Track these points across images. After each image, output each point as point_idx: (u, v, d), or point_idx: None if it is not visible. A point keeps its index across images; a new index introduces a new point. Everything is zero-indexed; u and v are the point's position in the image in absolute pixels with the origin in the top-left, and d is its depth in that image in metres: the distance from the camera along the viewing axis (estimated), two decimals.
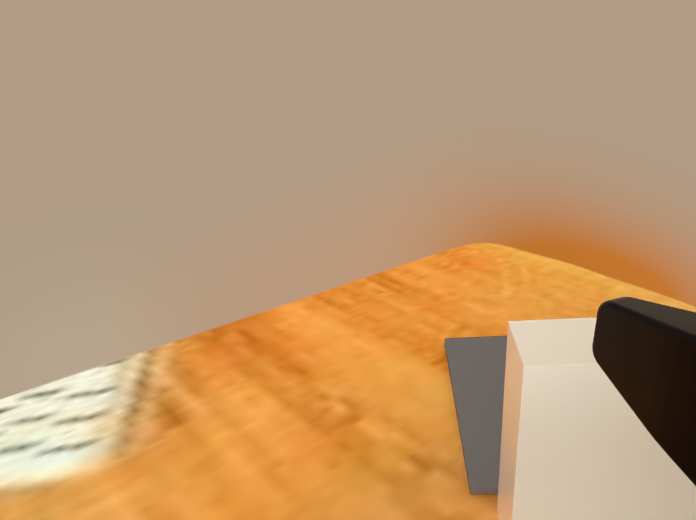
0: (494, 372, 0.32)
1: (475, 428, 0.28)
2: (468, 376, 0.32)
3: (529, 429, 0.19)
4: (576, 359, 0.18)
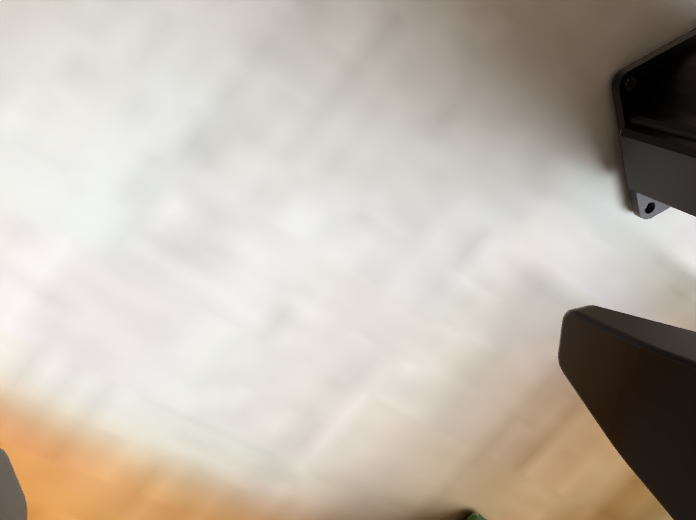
0: None
1: None
2: None
3: None
4: None
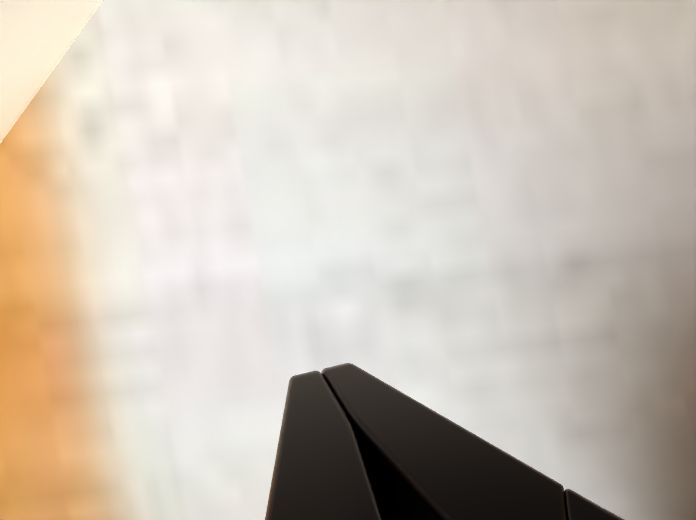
0: None
1: None
2: None
3: None
4: None
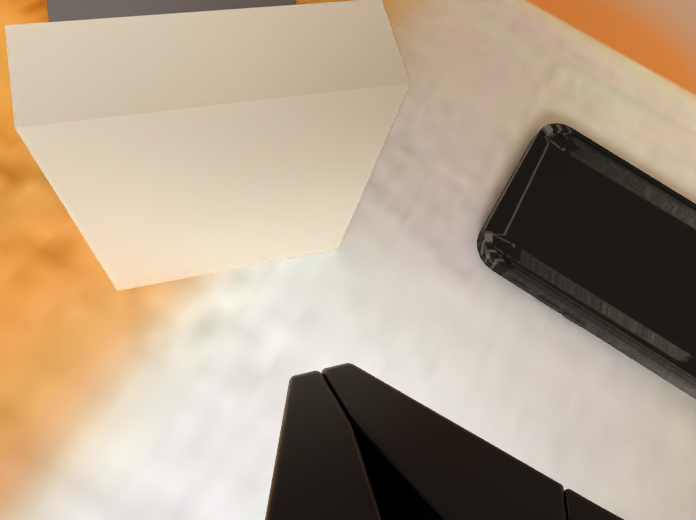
0: None
1: None
2: None
3: (73, 192, 0.13)
4: (108, 108, 0.11)
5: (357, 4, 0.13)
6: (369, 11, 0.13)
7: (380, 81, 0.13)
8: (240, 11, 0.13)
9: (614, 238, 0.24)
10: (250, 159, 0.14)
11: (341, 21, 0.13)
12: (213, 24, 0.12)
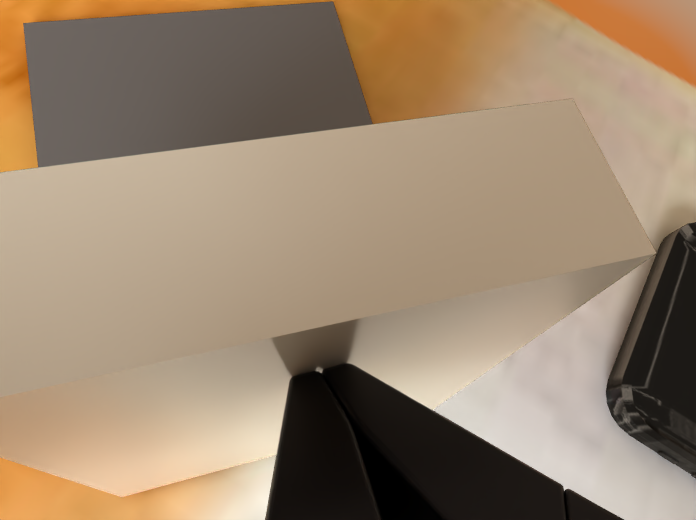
0: (119, 103, 0.17)
1: None
2: (68, 116, 0.17)
3: (39, 452, 0.07)
4: (96, 353, 0.05)
5: (537, 111, 0.08)
6: (558, 122, 0.08)
7: (603, 253, 0.07)
8: (342, 133, 0.07)
9: None
10: None
11: (516, 142, 0.07)
12: (296, 161, 0.07)
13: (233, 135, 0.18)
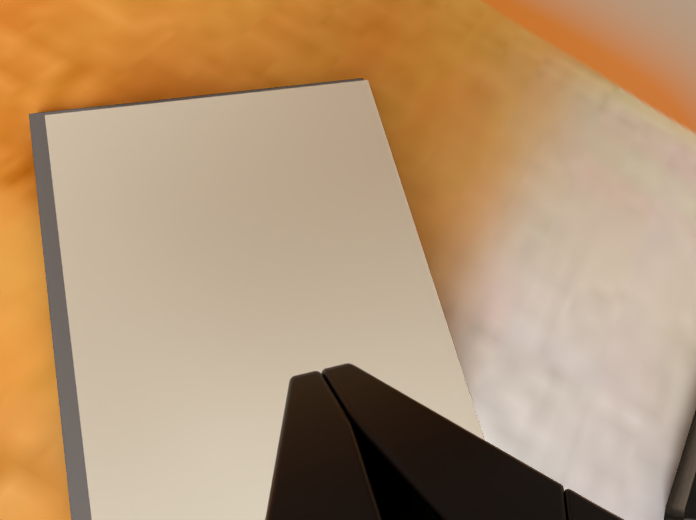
0: None
1: None
2: None
3: (74, 217, 0.13)
4: (121, 111, 0.14)
5: None
6: None
7: (342, 85, 0.15)
8: None
9: None
10: (256, 175, 0.14)
11: None
12: None
13: None
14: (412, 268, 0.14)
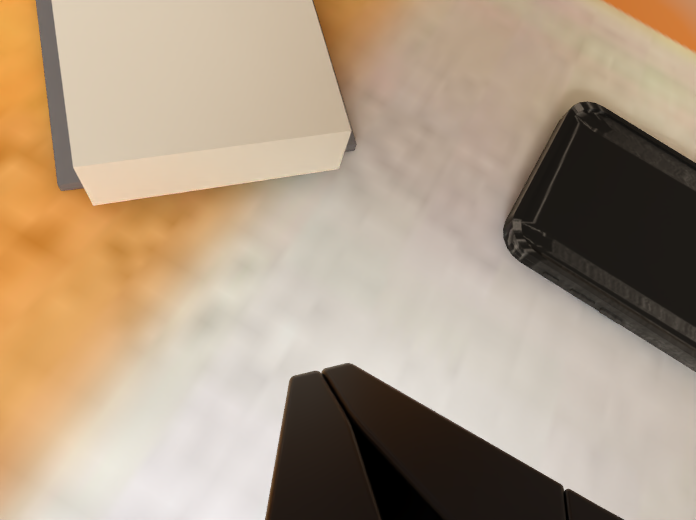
0: None
1: None
2: None
3: None
4: None
5: None
6: None
7: None
8: None
9: (652, 226, 0.22)
10: None
11: None
12: None
13: None
14: (303, 13, 0.19)
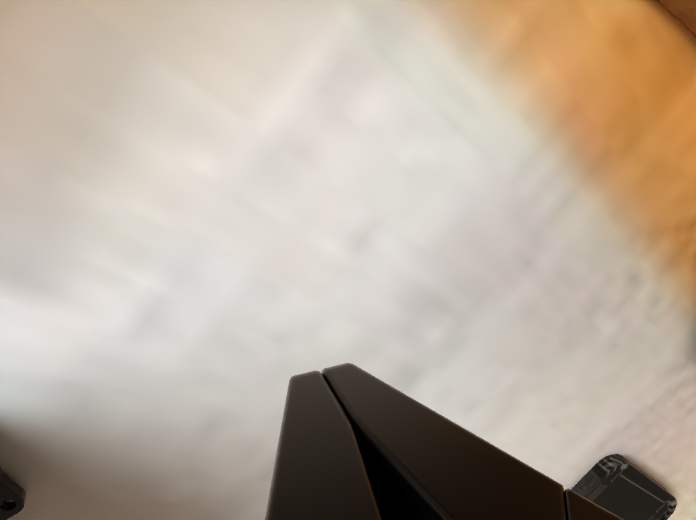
0: None
1: None
2: None
3: None
4: None
5: None
6: None
7: None
8: None
9: None
10: None
11: None
12: None
13: None
14: None
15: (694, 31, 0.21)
